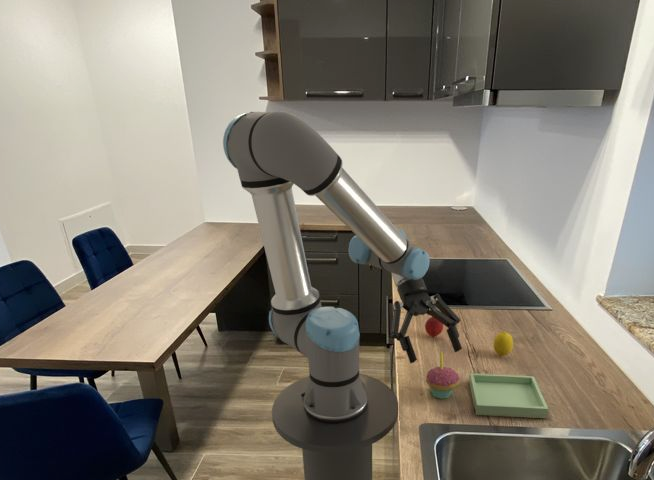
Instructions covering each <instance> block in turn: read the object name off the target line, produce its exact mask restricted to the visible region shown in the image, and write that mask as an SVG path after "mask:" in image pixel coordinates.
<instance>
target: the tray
mask: <svg viewBox="0 0 654 480" xmlns="http://www.w3.org/2000/svg"><path fill="white" fill-rule="evenodd" d="M468 382H469V388H470V393H471V397H472V402H473V407H474V412H475V416H493V417H509V418H511V417H512V418H515V417H516V418H529V419H548V414H549V407H548V405H547V402H546V400H545V398H544V396H543V393H542V391H541V389H540V387H539V384H538V383H537V380H536V377H534V376H533V375H512V374H494V373H493V374H491V373H472V372H471V373H470V374H469V381H468Z"/></svg>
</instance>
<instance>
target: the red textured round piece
mask: <svg viewBox="0 0 654 480" xmlns="http://www.w3.org/2000/svg"><path fill="white" fill-rule="evenodd" d="M424 329H425V332H426V334H427V335H429V336H430V337H432V338H435V337H438V336H439V335H441V333H442V332H443V330H444V324H442V323H441V322H439V321H438V320H436V319H435V318H434V317H432V316H430V317H429V318H428V319H427V320H426V322H425V325H424Z"/></svg>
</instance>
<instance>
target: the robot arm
mask: <svg viewBox="0 0 654 480" xmlns="http://www.w3.org/2000/svg"><path fill="white" fill-rule="evenodd" d="M222 145H223V151H224V155H225V157H226V159H227V160H228V162H229V163H230V164H231V165H232V167H233V168H235V169H236V170H237V173H238V179H239V181H240V185H241V188H242V189H243V190H245V192H247V193H249V194H250V195H251V198H252V203H253V206H254V210H255V215H256V220H257V223H258V227H259V231H260V235H261V240H262V245H263V247H264V252H265V256H266V260H267V264H268V268H269V272H270V277H271V280H272V284H273V288H274V292H275V294H274V295H273V296H272V298H271V300H270V305H271V309H270V310H269V314H268V324H269V327H270V329H271V331H272V333H273V334H274V335H275V336H276V337H277V338H278V339H279V340H280V341H281V342H283V343H284V344H287V345H289V346H290V347H291V348H292V349H294V350H295V351H297V352H299V353H300V354H301V355H303V356H304V357H306V359H307V360H308V373H309V376H310V379H309V382H308V385H307V389H306V392H305V393H302V394H301V396H302V397H304V399H303V402H304V410H305V412H306V414H307V415H308V416H309V417H310V418H312V419H314V420H316V421H319V422H322V423H329V424H337V423H344V422H348V421H351V420H354V419H356V418H358V417H359V416H360V415H362V414H363V413H364V411H365V410H366V408H367V393H366V391H365V389H364V387H365V385H364V384H363V382H362V380H361V378H360V376H359V374H360V338H361V334H360V328H359V322H358V319H357V317H356V316H355V314H353V313H352V312H351V311H348V310H347V309H344V308H341V307H335V306H323V305H322V301H321V296H320V292H319V290H318V289H316V288H315V287H313V286H312V284H311V278H310V273H309V268H308V262H307V258H306V253H305V247H304V243H303V238H302V232H301V227H300V224H299V217H298V212H297V208H296V201H295V198H294V193H293V186H294V185H295V186H296V187H298V188H299V189H300V190H301V191H303V192H304V193H305V194H306V195H307V196H310V197H314V196H315V197H316V199H318V200H319V201H320V202H321V203H322V204H324V206H326V207H327V209H329V210H330V211H331V212H332V213H333V214H334V215H335V216H336V218H338V219H339V220H340V221H341V222H342V223H343V224H344V225H345V226H346V227H347V228H348V229H349V230H350V231H352V233H353V234H355V235H354V236H353V237H352V238H351V239H350V241H349V243H348V249H347V250H348V256H349V258H350V260H351V261H352V262H353V263H354V264H360V265H362V266H363V265H370V266H371V267H375V268H378V269H381V270H384V271H387V272H389V273H391V276H392V280H393V282H394V285H395V287H396V290H397V293H398V296H399V299H400V300H401V301H399V300H395V301H394V303H393V304H392V305H391V307H392V312H393V313H392V320H391V329H390V338H391V339H392V340H395V339H396V341H398V342H399V344H400V347H401V349H402V351H403V352H405V353H406V355H407V357H408V361H409V363H410V364H413V363H415V362H416V361H418V359H417V356H416V352H415V349H414V347H413V344H412V342H411V338H410V335H407V332H408V330H409V327H410V323H411V321H412V319H413V317H418V316H424V315H428V316H430V317H434V318H435V319H436V320H438V321H439V322H441V323H442V324H443V326H445V327H446V328H447V329H446V333H447V335H448V338H449V342H451V346H452V348H453V351H454V353H457V352H459V351H461V350H463V347H462V345H461V341H460V340H459V339H460V333H459V331H458V328H457V325H458V324H460V323H461V318H460V317H459V316H458V315H457V314H456V313H455V312H454V311H453V310H452V309H451V307H449V305H448V304H447V303H446V302H445V301H444V300H443V299H442V297H441V295H440V294H439V292H438V293H437V292H436V293H435V294H434V295H432V296H429V293H428V288H427V286H426V283H425V280H424V279H423V277H424V276H426V273H427V272H428V270H429V268H430V267H429V266H430V262H431V261H430V255H429V254H428V252H427V251H426V250H424V249H422V248H420V247H417V246H413V245H412V244H411V243H410V241H409V239H408V236H407V235H406V233H405V231H403V230H402V229H400V228H399V229H398V228H397V227H396V226H395V225H394V224H393V223H392V222H391V220H390V219H389V218H388V217H387V216H386V215H385V213H383V211H382V210H381V209H380V208H379V207H378V206H377V205H376V203H375V202H374V201H373V200H372V199H371V198H370V197H369V196H368V194H367V193H366V192H365V191H364V190H363V189H362V188H361V187H360V186H359V185H358V183H357V182H356V181H355V180H354V179H353V177H351V176H350V174H349V173H348V172H347V171H346V170H345V169H344V168H343V160H342V158H341V156H340V155H339V154H338V153H337V152H336V151H335V150H334V148H333V147H332V146H331V145H330V144H329V143H328V142H327V141H326V140H325V139H324V138H323V137H322V135H321V134H320V133H318V132H317V131H316V130H315V129H314V128H313V127H312V126H311V125H310V124H308V123H307V122H306V121H305V120H304V119H302V118H301V117H299V116H297V115H295V114H293V113H290V112H287V111H280V110H279V111H277V110H276V111H249V112H246V113H242V114H240V115H237V116H236V117H234V118H233V119H232V120H230V122H229V123H228V125H227V126H226V128H225V130H224V133H223V139H222ZM403 309H404V310H405V311H406V313H405V316H404V319H403V322H402V325H401V327H400V323H401V322H400V321H401V313H402V310H403ZM410 364H409V365H410ZM363 385H364V386H363Z"/></svg>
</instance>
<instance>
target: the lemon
mask: <svg viewBox="0 0 654 480" xmlns="http://www.w3.org/2000/svg"><path fill="white" fill-rule="evenodd" d="M513 347H514V339H513V337H512V336H511V334H510V333H508V332H507V331H502V332H499V333H497V334H496V335H495V337H494V340H493V349H494V351H495V353H496V354H498V355H500V357H504V356H507V355H509V354H510V353H511V351H512V350H513Z"/></svg>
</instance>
